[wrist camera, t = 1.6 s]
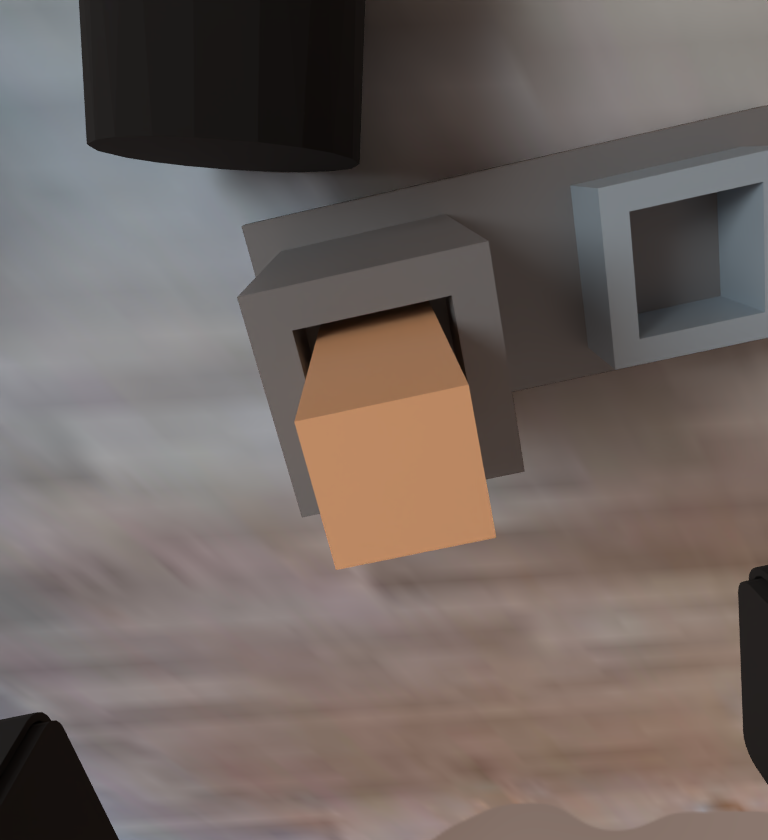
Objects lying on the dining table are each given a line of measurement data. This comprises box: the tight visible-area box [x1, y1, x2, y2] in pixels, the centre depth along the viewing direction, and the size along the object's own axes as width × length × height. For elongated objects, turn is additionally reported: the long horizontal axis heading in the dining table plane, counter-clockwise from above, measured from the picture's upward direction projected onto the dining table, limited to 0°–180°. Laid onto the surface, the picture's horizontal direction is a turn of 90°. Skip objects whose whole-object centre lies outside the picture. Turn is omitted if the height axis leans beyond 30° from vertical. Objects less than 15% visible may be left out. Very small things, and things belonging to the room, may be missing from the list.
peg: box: [294, 301, 496, 570], centre depth 21 cm, size 4×4×10 cm
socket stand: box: [237, 105, 768, 517], centre depth 28 cm, size 25×11×13 cm, turn 102°
